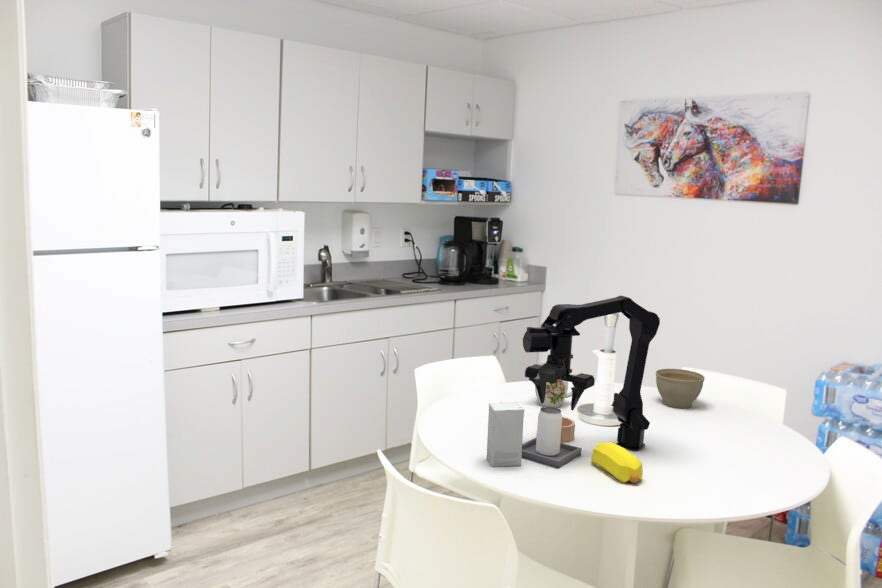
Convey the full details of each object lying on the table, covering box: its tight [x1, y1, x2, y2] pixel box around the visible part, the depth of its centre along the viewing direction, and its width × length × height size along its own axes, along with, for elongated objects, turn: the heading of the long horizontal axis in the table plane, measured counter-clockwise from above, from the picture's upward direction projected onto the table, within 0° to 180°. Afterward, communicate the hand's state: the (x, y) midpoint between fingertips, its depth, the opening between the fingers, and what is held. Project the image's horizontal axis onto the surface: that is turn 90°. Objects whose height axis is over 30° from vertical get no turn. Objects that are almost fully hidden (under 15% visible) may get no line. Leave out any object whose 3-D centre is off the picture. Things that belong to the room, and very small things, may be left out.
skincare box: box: [486, 401, 525, 467], centre depth 194 cm, size 8×7×16 cm
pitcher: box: [529, 362, 578, 408], centre depth 249 cm, size 11×18×14 cm, turn 103°
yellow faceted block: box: [590, 441, 644, 484], centre depth 192 cm, size 18×7×8 cm
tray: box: [521, 436, 582, 469], centre depth 202 cm, size 14×14×2 cm
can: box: [536, 406, 563, 456], centre depth 201 cm, size 6×6×12 cm
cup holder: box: [560, 416, 576, 443], centre depth 218 cm, size 11×11×4 cm
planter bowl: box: [655, 368, 705, 409], centre depth 257 cm, size 16×16×11 cm
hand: (557, 406), depth 204 cm, fingers open, 9 cm apart
